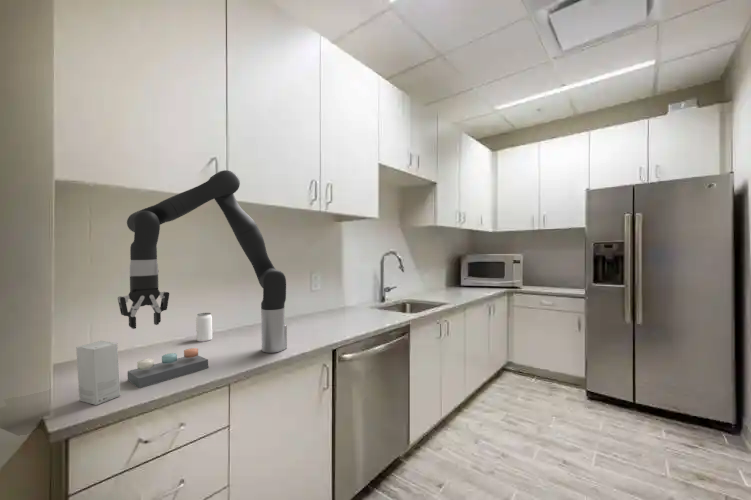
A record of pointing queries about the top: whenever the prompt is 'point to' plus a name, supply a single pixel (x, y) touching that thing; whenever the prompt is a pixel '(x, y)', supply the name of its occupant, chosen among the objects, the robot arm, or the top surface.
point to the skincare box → (98, 372)
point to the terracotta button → (190, 352)
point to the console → (166, 371)
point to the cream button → (145, 364)
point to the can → (204, 327)
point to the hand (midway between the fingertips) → (145, 326)
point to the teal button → (169, 358)
